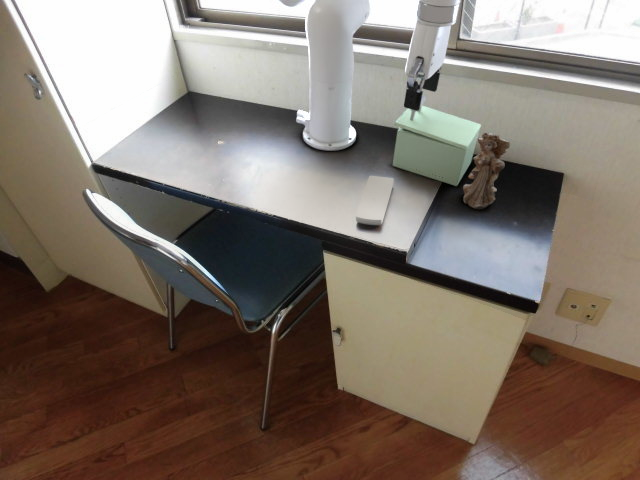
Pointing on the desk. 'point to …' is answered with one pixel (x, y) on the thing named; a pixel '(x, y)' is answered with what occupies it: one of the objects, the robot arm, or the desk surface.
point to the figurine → (485, 171)
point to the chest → (432, 156)
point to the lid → (439, 125)
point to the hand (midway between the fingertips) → (420, 98)
